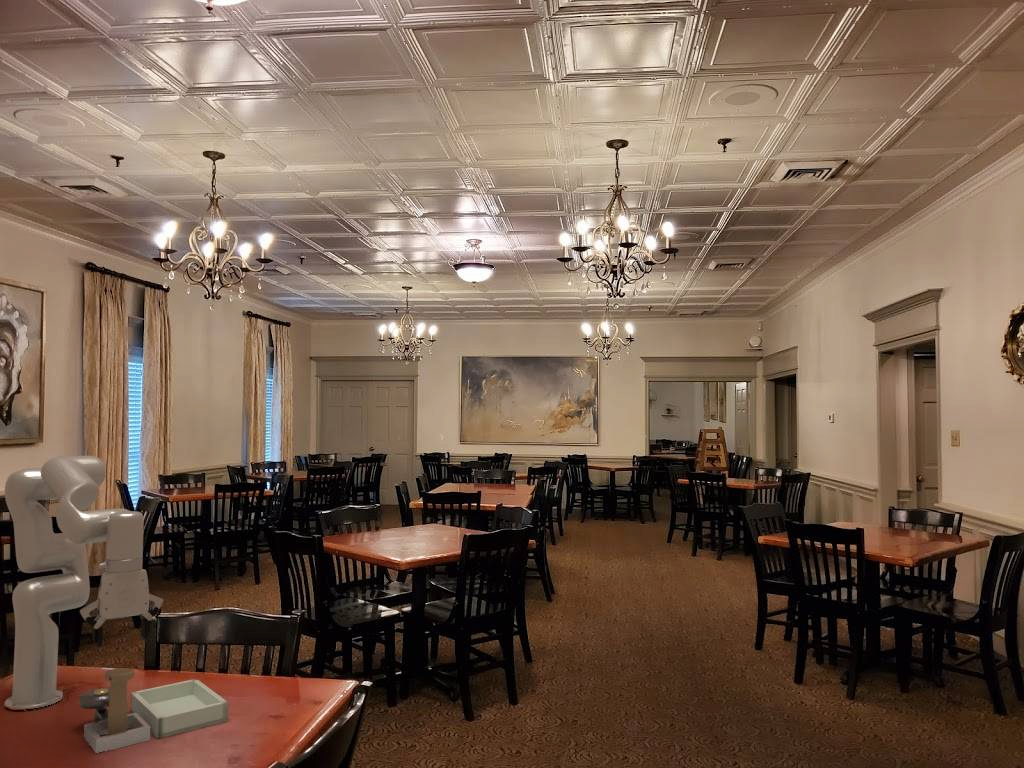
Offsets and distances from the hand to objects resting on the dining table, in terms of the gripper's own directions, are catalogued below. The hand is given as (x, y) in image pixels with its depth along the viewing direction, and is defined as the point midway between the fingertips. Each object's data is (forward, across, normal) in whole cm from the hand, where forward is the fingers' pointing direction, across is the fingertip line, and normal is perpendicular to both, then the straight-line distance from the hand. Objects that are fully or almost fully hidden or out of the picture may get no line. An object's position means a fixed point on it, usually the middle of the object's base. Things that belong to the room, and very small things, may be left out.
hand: (121, 641), depth 170 cm
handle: (+22, 0, +1) cm, 22 cm away
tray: (+22, +15, +6) cm, 27 cm away
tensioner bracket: (+22, 0, +6) cm, 23 cm away
